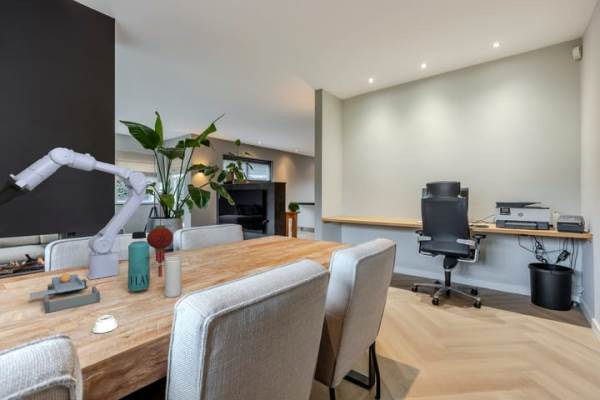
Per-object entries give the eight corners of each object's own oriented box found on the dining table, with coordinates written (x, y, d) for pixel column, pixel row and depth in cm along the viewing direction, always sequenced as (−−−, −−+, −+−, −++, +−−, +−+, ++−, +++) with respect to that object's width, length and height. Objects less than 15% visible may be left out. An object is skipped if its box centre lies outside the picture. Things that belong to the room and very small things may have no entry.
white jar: (122, 326, 69) (107, 323, 70) (122, 314, 69) (107, 312, 70) (103, 336, 64) (87, 333, 66) (103, 323, 64) (87, 320, 66)
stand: (86, 285, 98) (86, 278, 98) (87, 288, 95) (87, 280, 95) (46, 292, 91) (46, 284, 91) (46, 295, 88) (46, 287, 88)
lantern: (175, 277, 109) (175, 200, 109) (147, 281, 104) (148, 200, 103) (170, 271, 117) (171, 200, 117) (145, 275, 112) (145, 200, 111)
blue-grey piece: (77, 282, 102) (77, 274, 102) (84, 288, 89) (84, 279, 89) (29, 290, 93) (29, 281, 94) (29, 298, 81) (29, 287, 81)
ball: (70, 282, 100) (70, 273, 101) (71, 280, 98) (71, 272, 99) (59, 283, 98) (59, 275, 99) (60, 282, 96) (60, 273, 97)
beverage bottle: (126, 296, 88) (126, 233, 88) (128, 290, 94) (128, 230, 94) (149, 293, 91) (150, 232, 91) (150, 287, 97) (150, 230, 97)
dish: (94, 294, 90) (94, 285, 90) (99, 302, 84) (99, 292, 84) (44, 304, 82) (44, 294, 82) (45, 313, 75) (45, 303, 75)
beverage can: (184, 294, 91) (184, 257, 91) (173, 299, 87) (173, 260, 87) (172, 292, 93) (172, 256, 93) (161, 297, 88) (161, 259, 88)
